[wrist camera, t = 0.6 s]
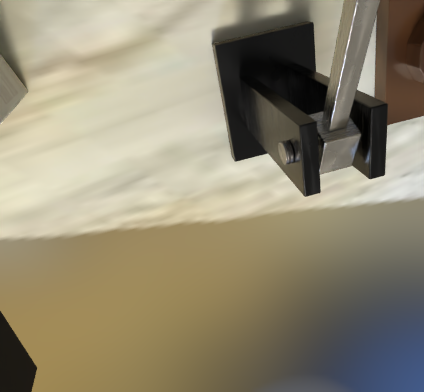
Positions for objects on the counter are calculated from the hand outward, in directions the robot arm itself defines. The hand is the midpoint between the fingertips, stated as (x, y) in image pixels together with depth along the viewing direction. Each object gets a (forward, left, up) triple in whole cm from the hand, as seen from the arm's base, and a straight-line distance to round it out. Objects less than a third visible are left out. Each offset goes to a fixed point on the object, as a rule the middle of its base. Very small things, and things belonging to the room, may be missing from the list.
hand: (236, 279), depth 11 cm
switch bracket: (+2, +8, -23) cm, 25 cm away
